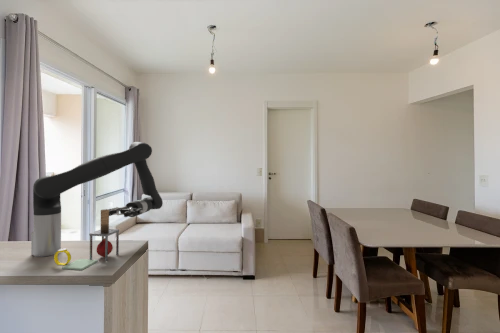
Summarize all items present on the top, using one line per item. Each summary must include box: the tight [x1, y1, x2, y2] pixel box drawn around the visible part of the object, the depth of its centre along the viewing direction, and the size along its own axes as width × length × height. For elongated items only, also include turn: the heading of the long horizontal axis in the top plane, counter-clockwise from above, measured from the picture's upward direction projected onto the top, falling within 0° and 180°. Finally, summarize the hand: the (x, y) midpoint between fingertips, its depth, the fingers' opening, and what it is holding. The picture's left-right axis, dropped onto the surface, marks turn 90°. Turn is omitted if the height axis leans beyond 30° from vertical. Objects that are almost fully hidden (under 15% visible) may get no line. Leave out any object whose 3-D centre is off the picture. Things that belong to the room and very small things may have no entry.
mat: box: [61, 258, 99, 271], centre depth 95 cm, size 8×8×1 cm
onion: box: [96, 237, 114, 258], centre depth 103 cm, size 6×6×8 cm
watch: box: [53, 247, 72, 266], centre depth 95 cm, size 6×3×6 cm, turn 85°
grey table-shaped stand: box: [89, 208, 120, 262], centre depth 103 cm, size 8×8×20 cm
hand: (115, 214), depth 110 cm, fingers open, 8 cm apart
